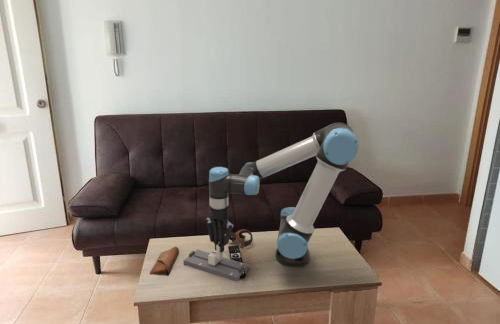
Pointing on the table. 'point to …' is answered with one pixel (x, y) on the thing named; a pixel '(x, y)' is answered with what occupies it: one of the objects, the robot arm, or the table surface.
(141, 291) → the table surface
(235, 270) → the grey slotted slider track
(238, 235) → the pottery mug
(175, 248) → the sunglasses case
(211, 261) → the fader
